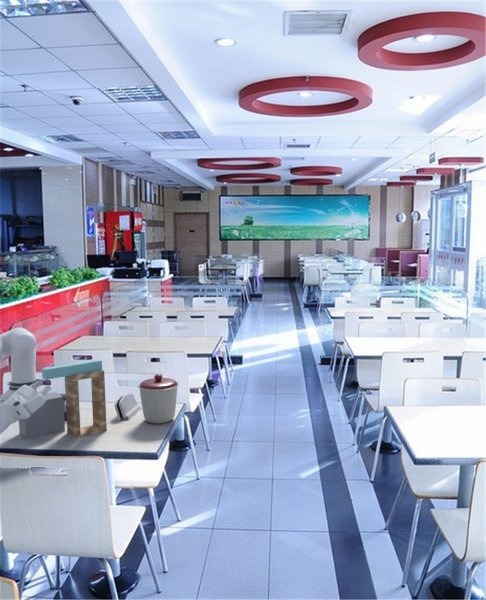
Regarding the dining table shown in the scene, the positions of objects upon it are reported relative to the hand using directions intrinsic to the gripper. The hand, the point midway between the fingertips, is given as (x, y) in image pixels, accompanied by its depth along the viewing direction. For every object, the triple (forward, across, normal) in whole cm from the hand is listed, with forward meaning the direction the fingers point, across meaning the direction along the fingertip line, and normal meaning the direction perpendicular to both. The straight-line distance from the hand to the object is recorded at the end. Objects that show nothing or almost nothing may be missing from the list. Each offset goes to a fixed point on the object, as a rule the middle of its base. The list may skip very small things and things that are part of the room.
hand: (45, 384), depth 220 cm
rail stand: (+2, -1, -29) cm, 29 cm away
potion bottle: (+1, -22, -28) cm, 36 cm away
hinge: (+24, -11, -42) cm, 49 cm away
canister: (+29, +7, -45) cm, 54 cm away
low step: (-10, -13, -22) cm, 27 cm away
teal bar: (+11, 0, -4) cm, 12 cm away
